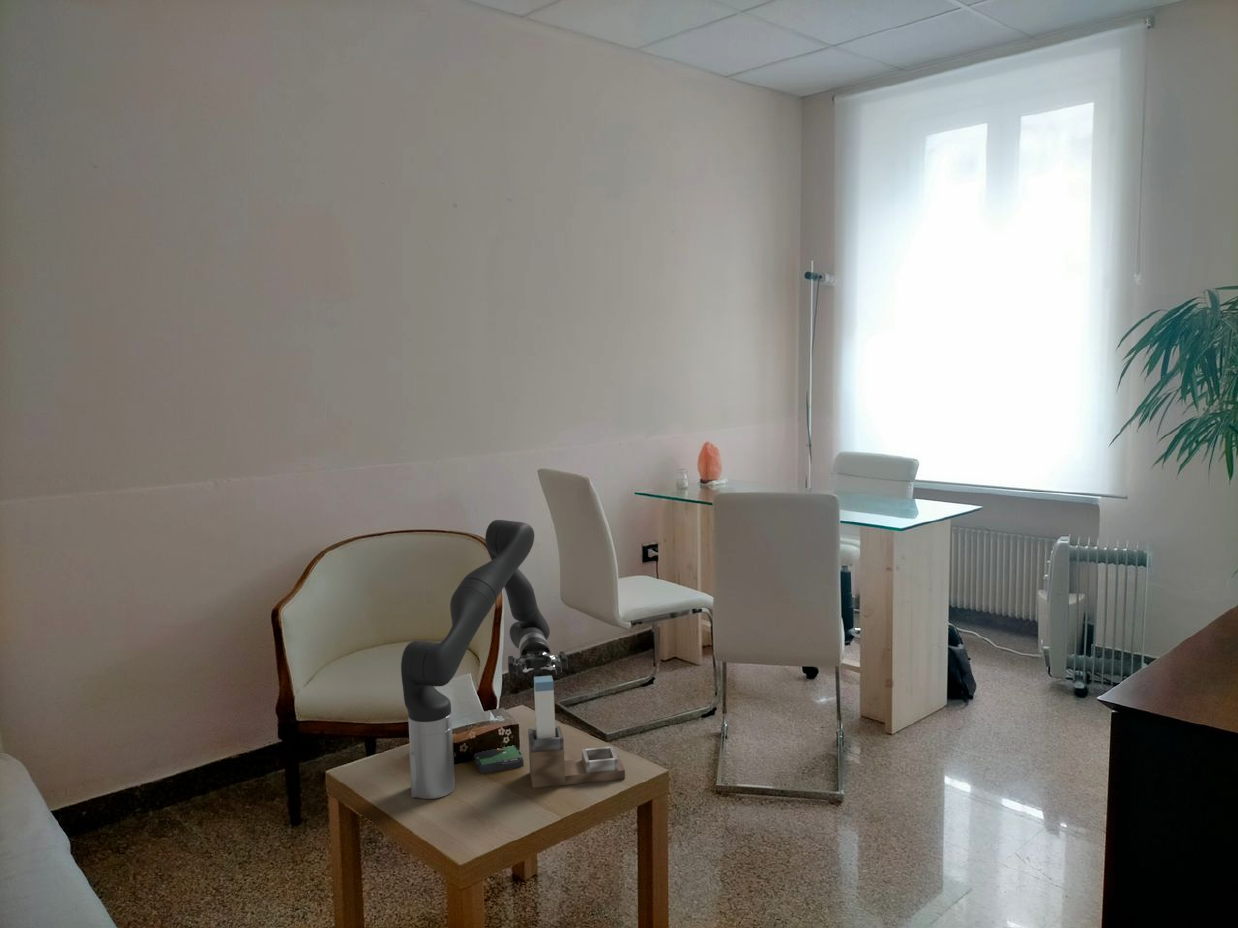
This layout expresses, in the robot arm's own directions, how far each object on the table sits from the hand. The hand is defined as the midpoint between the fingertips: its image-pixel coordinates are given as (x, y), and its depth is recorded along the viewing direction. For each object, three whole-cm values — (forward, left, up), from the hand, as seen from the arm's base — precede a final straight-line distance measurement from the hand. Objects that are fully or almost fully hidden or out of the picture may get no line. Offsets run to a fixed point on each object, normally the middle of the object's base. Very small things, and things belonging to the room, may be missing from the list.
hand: (539, 672), depth 219 cm
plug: (0, -12, -13) cm, 17 cm away
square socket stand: (+6, -12, -21) cm, 24 cm away
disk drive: (-11, +2, -21) cm, 24 cm away
